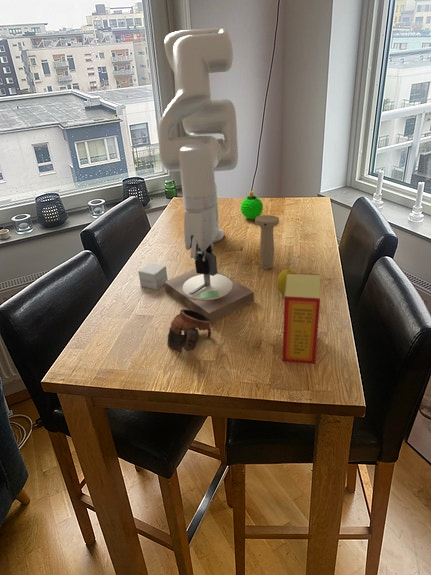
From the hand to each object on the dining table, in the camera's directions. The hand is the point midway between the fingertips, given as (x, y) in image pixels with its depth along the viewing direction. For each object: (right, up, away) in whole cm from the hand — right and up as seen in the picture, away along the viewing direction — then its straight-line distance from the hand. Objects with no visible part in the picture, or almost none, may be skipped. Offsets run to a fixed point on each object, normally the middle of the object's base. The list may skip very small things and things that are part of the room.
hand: (205, 269), depth 107 cm
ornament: (+16, +21, +48) cm, 55 cm away
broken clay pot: (-3, -17, -12) cm, 21 cm away
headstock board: (+1, -7, +4) cm, 8 cm away
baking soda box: (+21, -18, -16) cm, 31 cm away
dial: (+1, -4, +2) cm, 5 cm away
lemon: (+21, -7, +2) cm, 22 cm away
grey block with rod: (-1, -5, +1) cm, 5 cm away
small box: (-15, -4, +12) cm, 19 cm away
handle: (+18, +1, +16) cm, 24 cm away
